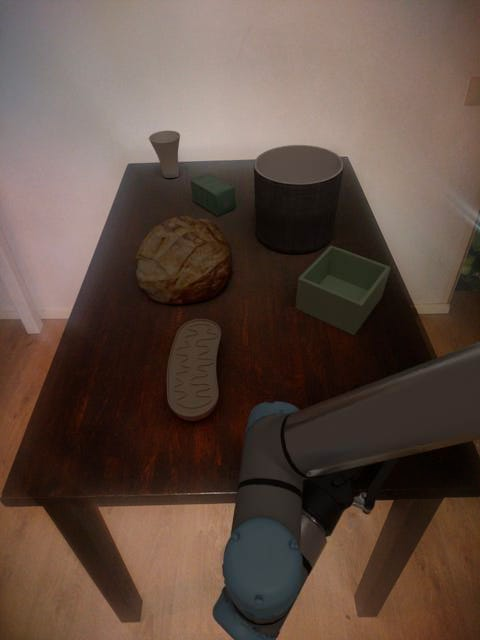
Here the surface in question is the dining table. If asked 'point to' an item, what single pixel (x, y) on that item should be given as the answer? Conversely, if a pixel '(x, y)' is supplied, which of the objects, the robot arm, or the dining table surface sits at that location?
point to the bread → (184, 261)
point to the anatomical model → (194, 370)
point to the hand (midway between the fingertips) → (375, 399)
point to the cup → (166, 150)
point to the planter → (296, 197)
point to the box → (213, 194)
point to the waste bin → (341, 288)
